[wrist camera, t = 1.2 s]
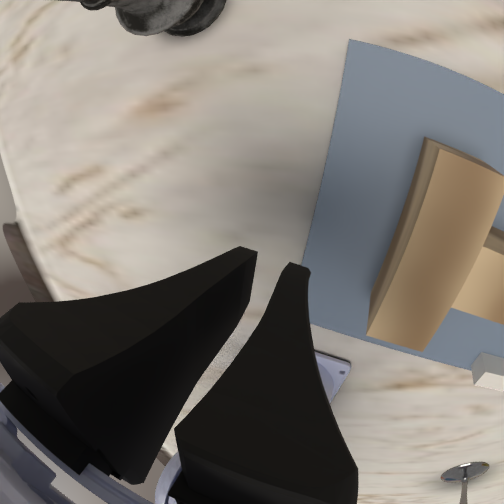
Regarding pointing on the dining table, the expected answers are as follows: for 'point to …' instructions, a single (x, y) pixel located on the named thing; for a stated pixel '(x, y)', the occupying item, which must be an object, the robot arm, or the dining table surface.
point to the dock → (488, 371)
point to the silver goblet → (464, 475)
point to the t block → (441, 250)
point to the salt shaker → (161, 14)
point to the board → (393, 187)
